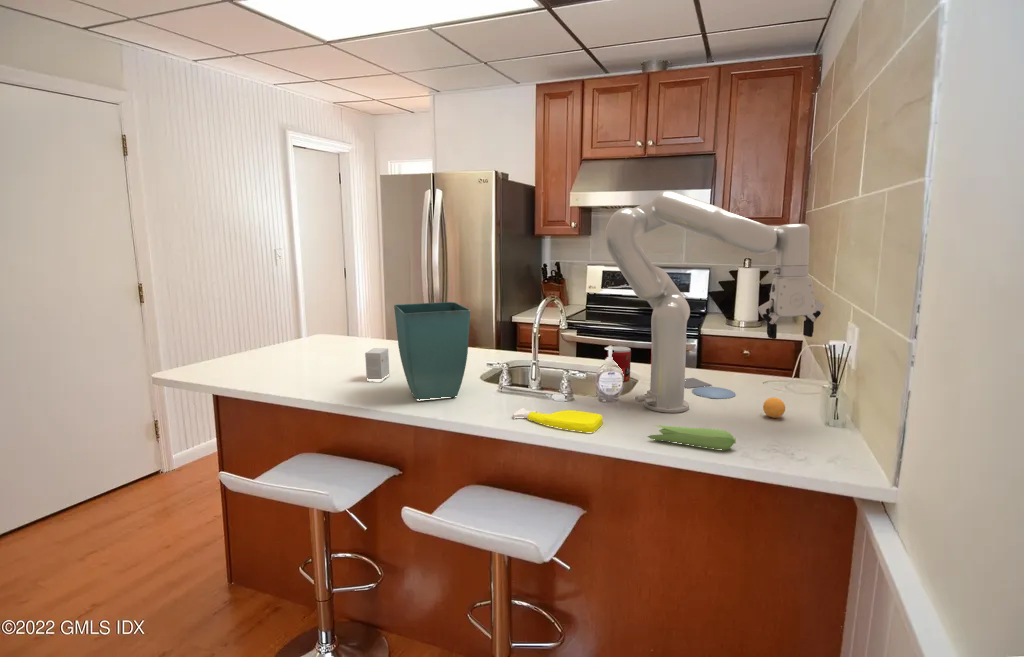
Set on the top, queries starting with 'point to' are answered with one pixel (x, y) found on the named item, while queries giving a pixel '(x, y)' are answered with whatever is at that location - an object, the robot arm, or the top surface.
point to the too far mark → (694, 383)
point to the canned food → (623, 360)
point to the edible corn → (696, 437)
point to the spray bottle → (565, 419)
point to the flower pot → (433, 347)
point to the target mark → (714, 392)
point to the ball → (774, 407)
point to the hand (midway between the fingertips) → (789, 337)
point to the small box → (377, 363)
